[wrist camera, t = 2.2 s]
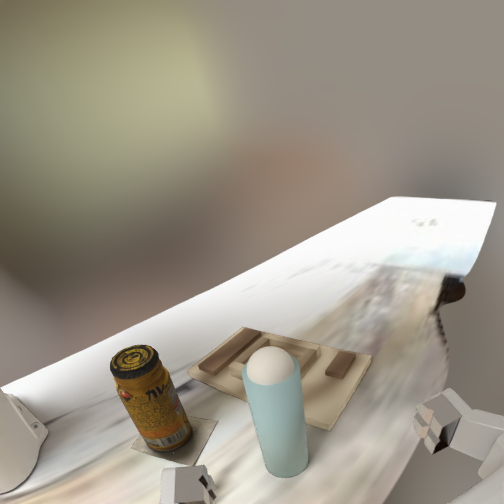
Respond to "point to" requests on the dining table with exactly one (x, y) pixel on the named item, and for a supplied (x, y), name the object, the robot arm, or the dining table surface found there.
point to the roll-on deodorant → (277, 410)
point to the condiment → (157, 407)
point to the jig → (311, 369)
